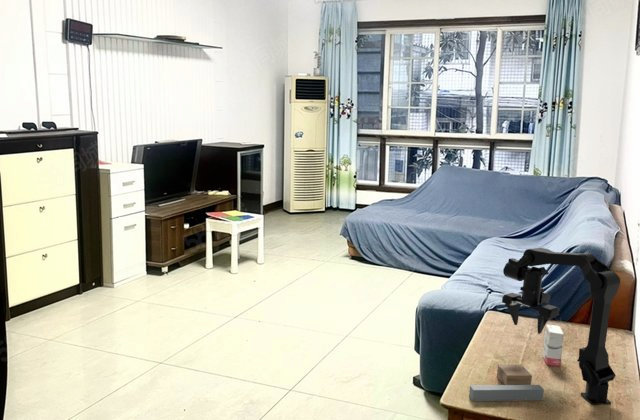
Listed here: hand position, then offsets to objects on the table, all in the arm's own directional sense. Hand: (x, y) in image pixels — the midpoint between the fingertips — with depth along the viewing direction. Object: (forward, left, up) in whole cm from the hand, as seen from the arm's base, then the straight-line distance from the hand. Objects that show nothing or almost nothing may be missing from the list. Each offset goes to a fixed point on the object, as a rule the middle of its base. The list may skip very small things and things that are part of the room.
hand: (527, 329), depth 205 cm
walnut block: (-12, +9, -13) cm, 20 cm away
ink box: (+4, -12, -13) cm, 18 cm away
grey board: (-23, +16, -13) cm, 31 cm away
